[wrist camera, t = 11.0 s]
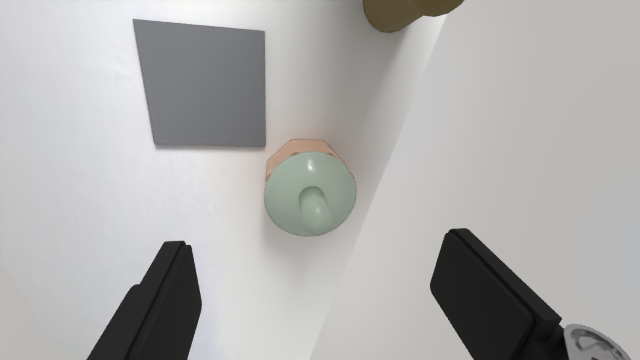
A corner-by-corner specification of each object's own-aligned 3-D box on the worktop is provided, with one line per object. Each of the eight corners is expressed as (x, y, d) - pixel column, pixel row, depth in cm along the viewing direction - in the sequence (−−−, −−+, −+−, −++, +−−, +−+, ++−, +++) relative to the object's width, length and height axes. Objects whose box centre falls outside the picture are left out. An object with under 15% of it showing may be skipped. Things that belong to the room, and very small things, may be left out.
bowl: (267, 138, 32) (265, 151, 28) (345, 140, 34) (357, 153, 29) (267, 209, 36) (266, 231, 32) (338, 208, 38) (347, 228, 33)
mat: (135, 19, 26) (132, 19, 25) (264, 31, 28) (264, 31, 27) (156, 142, 31) (154, 144, 30) (265, 145, 33) (265, 146, 32)
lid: (263, 150, 28) (261, 172, 22) (358, 151, 29) (377, 172, 24) (265, 233, 32) (264, 269, 26) (349, 229, 33) (363, 263, 28)
